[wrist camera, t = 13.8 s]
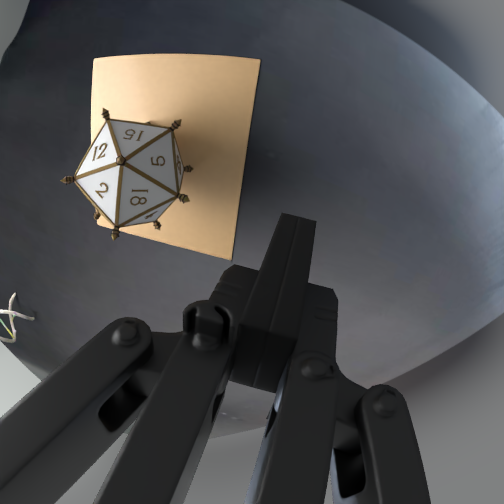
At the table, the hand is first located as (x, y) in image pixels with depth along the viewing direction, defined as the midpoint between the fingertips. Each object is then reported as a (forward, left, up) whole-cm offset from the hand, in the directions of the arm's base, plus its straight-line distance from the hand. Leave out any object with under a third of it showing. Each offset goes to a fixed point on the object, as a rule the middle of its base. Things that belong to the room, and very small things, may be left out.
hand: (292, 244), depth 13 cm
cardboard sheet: (+3, -11, -9) cm, 15 cm away
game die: (+3, -11, -9) cm, 14 cm away
